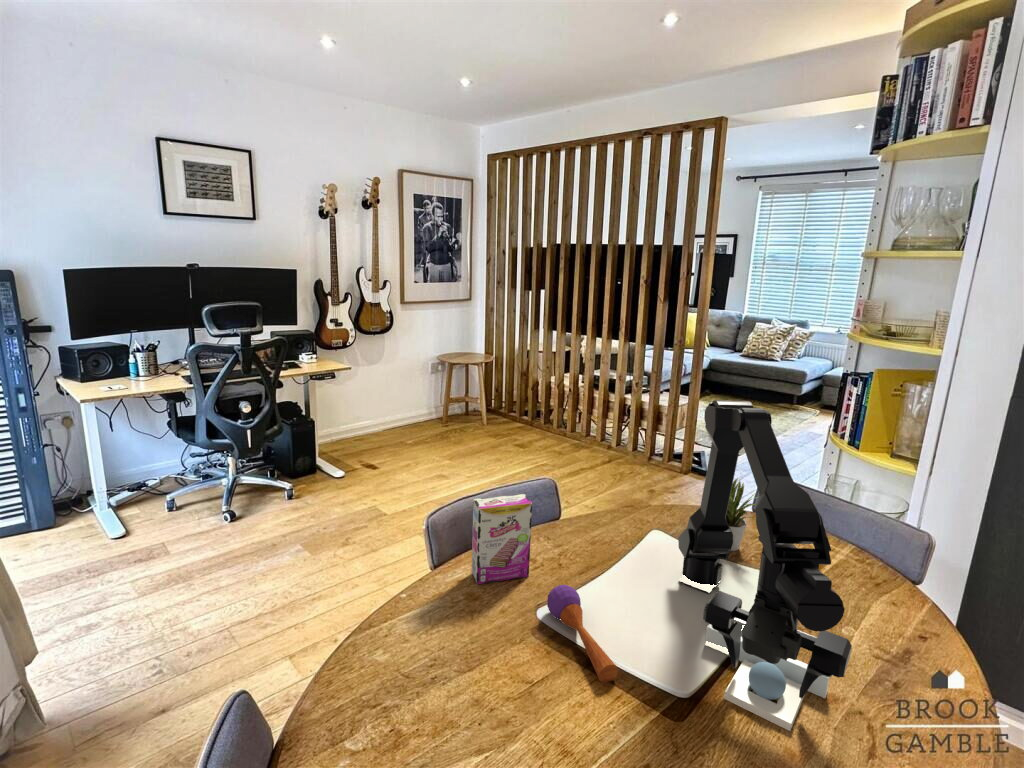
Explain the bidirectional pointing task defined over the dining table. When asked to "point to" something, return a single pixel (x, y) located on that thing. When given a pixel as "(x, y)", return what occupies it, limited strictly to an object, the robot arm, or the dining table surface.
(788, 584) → the robot arm
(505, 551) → the candy bar box
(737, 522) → the house plant
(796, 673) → the divider wall
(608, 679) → the kendama
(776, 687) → the ball
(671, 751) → the dining table surface
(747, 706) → the white rectangular frame
